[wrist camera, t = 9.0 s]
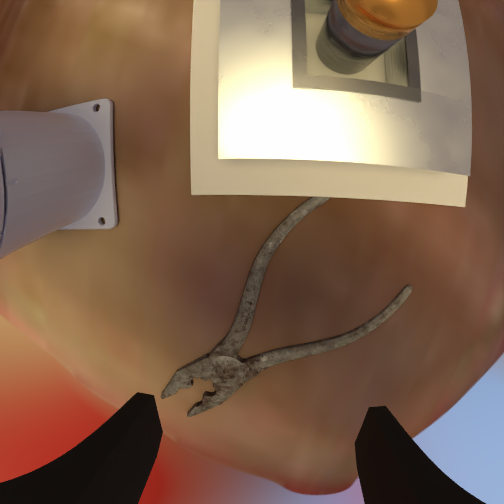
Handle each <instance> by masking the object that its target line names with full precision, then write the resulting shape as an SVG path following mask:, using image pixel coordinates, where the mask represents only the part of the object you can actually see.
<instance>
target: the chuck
mask: <svg viewBox="0 0 504 504" xmlns="http://www.w3.org/2000/svg"><path fill="white" fill-rule="evenodd" d="M332 2H333V0H220V29H219V84H218V159H238V158H256V159H302V160H324V161H341V162H355V163H368V164H379V165H389V166H399V167H408V168H416V169H424V170H432V171H439V172H446V173H453V174H459V175H466V176H470V169H471V147H472V108H471V87H470V74H469V63H468V55H467V47H466V40H465V33H464V27H463V21H462V16H461V11H460V6H459V2H458V0H438V5H437V9H436V11H435V13H434V14H433V15H432V16H431V17H430V18H429V19H427V20H426V21H425V22H423V23H422V24H421V25H419V26H418V27H417V28H415V29H414V30H413V31H411V32H410V33H409V34H407V35H406V36H405V37H404V38H402V39H401V40H400V41H398V42H397V43H396V44H395V45H393V46H392V47H391V48H389V49H388V50H387V51H386V52H384V65H385V83H383V82H377V81H370V80H362V79H354V78H345V77H335V76H323V75H308V74H307V41H306V15H305V13H313V14H325V15H327V13H328V11H329V9H330V6H331V4H332Z"/></svg>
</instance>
